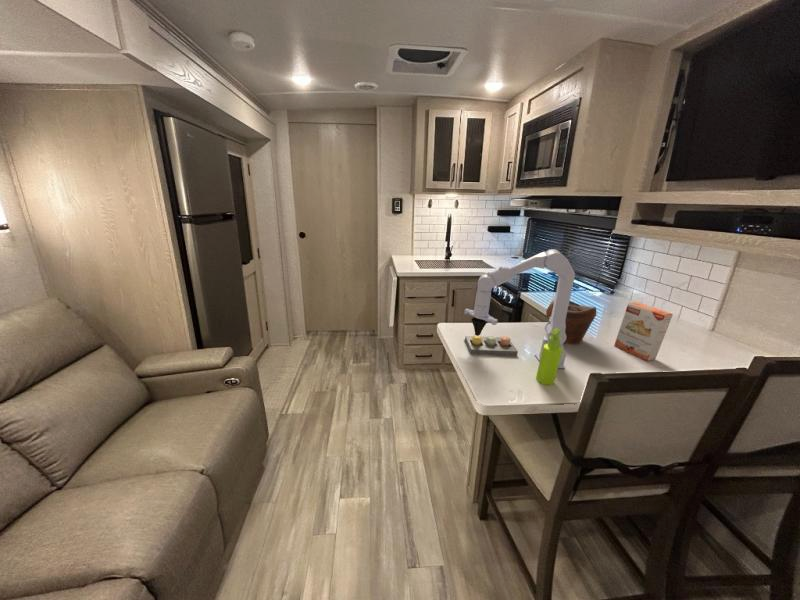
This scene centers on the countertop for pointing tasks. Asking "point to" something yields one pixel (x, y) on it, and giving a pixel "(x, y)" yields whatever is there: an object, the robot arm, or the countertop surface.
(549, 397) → the countertop surface
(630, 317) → the cracker box
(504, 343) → the button
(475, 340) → the button
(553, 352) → the soap dispenser
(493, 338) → the button mid
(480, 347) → the panel
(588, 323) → the brown basket
